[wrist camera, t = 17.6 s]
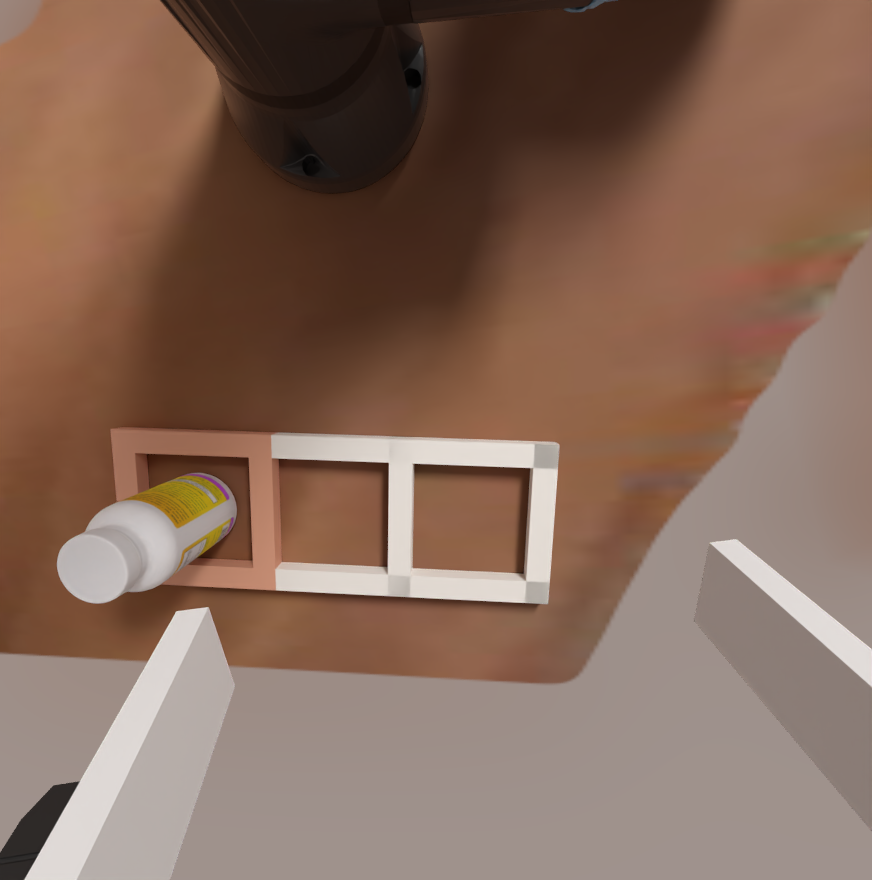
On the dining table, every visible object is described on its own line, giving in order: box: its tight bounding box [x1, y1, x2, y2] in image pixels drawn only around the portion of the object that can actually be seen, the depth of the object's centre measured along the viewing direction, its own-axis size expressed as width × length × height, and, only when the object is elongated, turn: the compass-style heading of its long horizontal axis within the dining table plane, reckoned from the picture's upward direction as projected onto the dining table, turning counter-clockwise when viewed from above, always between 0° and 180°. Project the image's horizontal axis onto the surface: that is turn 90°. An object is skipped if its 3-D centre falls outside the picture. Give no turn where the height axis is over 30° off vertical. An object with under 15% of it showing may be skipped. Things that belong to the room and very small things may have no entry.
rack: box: [110, 427, 559, 604], centre depth 40 cm, size 38×14×2 cm, turn 88°
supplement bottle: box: [57, 473, 237, 604], centre depth 35 cm, size 7×7×13 cm
